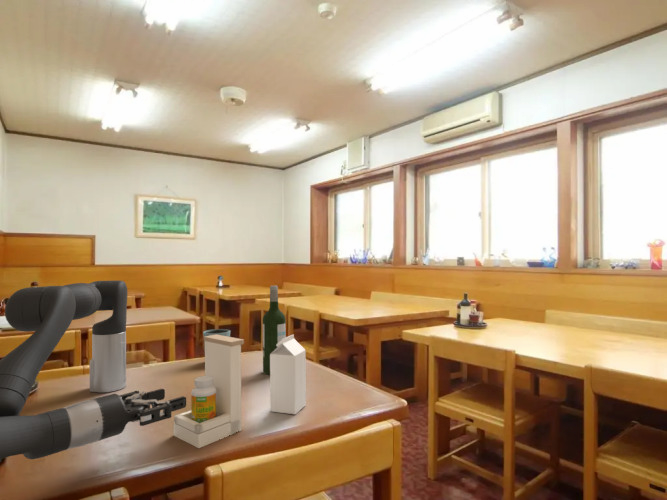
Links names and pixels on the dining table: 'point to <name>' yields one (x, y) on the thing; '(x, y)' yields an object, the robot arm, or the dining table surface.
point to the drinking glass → (216, 331)
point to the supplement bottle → (203, 399)
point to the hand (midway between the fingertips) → (174, 397)
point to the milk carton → (287, 377)
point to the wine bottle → (272, 328)
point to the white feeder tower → (217, 394)
